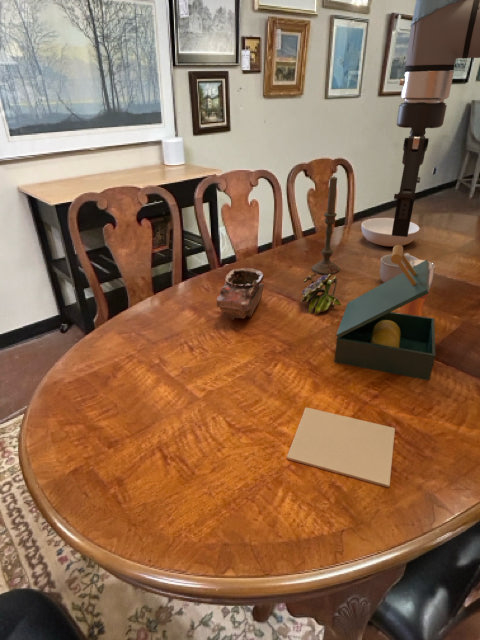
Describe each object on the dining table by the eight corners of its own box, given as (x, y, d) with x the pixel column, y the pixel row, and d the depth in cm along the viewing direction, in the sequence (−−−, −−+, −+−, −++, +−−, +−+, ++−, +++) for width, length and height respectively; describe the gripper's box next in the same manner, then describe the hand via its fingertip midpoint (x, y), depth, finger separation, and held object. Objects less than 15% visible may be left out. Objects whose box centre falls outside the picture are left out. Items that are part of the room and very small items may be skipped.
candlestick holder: (321, 276, 133) (329, 179, 119) (306, 266, 141) (312, 174, 126) (345, 272, 136) (356, 176, 122) (329, 262, 144) (338, 171, 129)
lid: (428, 262, 90) (407, 231, 89) (428, 293, 77) (404, 257, 75) (349, 305, 101) (330, 277, 100) (338, 338, 88) (315, 307, 87)
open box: (428, 342, 98) (434, 318, 95) (428, 382, 85) (435, 355, 82) (345, 328, 105) (348, 305, 101) (334, 364, 91) (336, 338, 88)
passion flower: (307, 319, 120) (311, 278, 122) (345, 320, 115) (348, 278, 116) (293, 312, 110) (297, 268, 112) (333, 314, 105) (337, 267, 107)
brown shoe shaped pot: (281, 300, 119) (282, 268, 114) (256, 334, 103) (256, 299, 98) (238, 293, 123) (237, 263, 119) (208, 325, 107) (206, 291, 103)
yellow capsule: (372, 335, 100) (376, 313, 97) (398, 340, 98) (403, 317, 96) (366, 362, 91) (370, 339, 88) (395, 368, 89) (400, 344, 86)
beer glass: (405, 309, 113) (416, 257, 106) (429, 319, 108) (442, 265, 101) (389, 317, 109) (399, 263, 102) (413, 327, 104) (425, 272, 97)
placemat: (394, 430, 74) (395, 427, 73) (389, 487, 63) (389, 485, 63) (305, 409, 79) (305, 406, 79) (286, 459, 68) (286, 457, 68)
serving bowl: (355, 248, 156) (357, 230, 152) (363, 232, 172) (365, 215, 169) (414, 255, 148) (418, 236, 145) (417, 237, 165) (420, 220, 162)
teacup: (403, 294, 121) (408, 268, 117) (370, 283, 128) (373, 258, 124) (426, 280, 129) (431, 256, 125) (394, 271, 136) (398, 247, 132)
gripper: (403, 99, 82) (386, 208, 92) (395, 104, 62) (374, 243, 72) (445, 98, 79) (422, 210, 90) (450, 104, 59) (421, 247, 69)
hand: (401, 225), depth 81 cm, fingers open, 13 cm apart
